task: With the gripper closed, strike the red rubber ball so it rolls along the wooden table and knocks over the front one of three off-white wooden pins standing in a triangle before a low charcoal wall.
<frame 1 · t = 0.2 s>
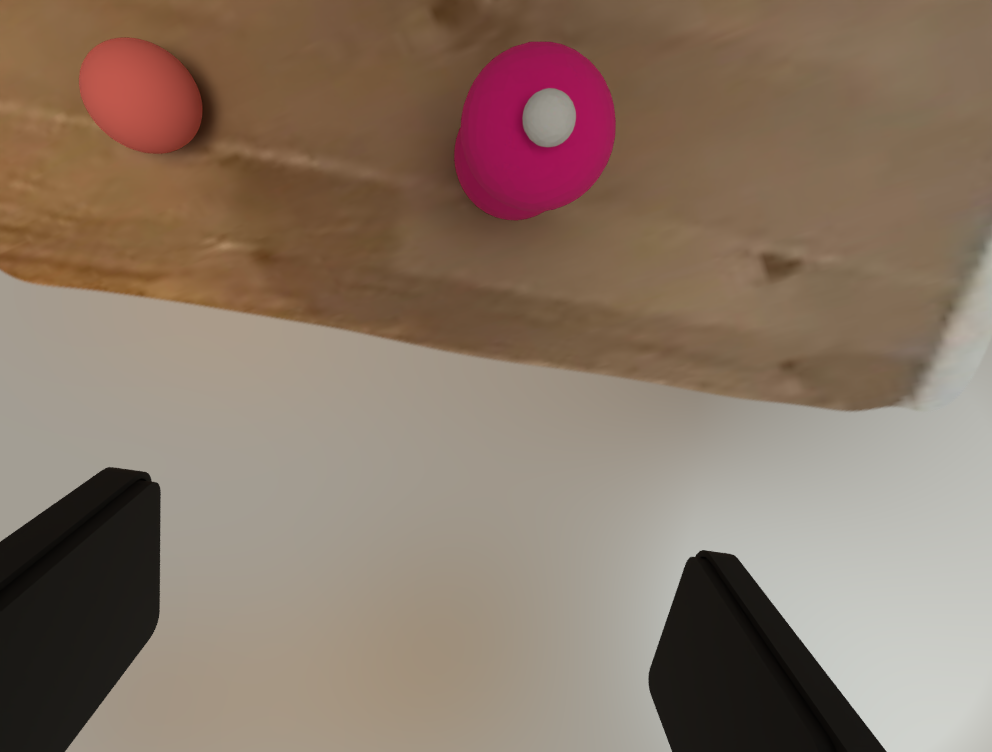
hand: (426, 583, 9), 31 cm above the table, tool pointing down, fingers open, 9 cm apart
pepper mill: (509, 163, 36), on the table
ball: (144, 98, 31), on the table
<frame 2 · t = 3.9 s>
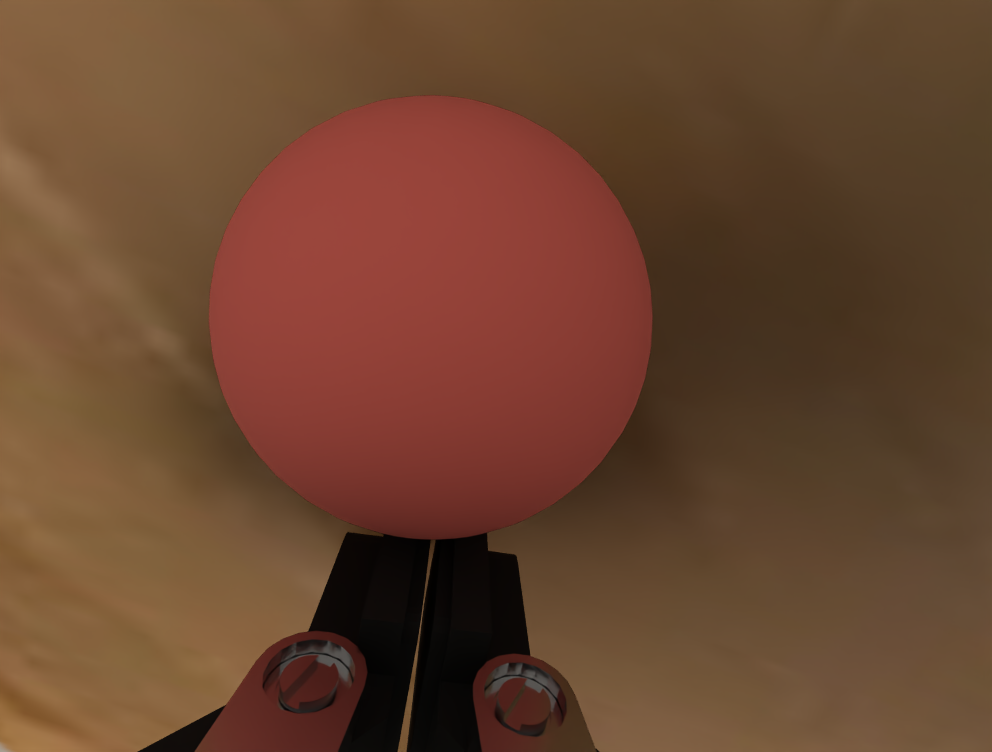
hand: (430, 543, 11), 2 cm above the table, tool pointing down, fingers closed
ball: (440, 326, 8), on the table
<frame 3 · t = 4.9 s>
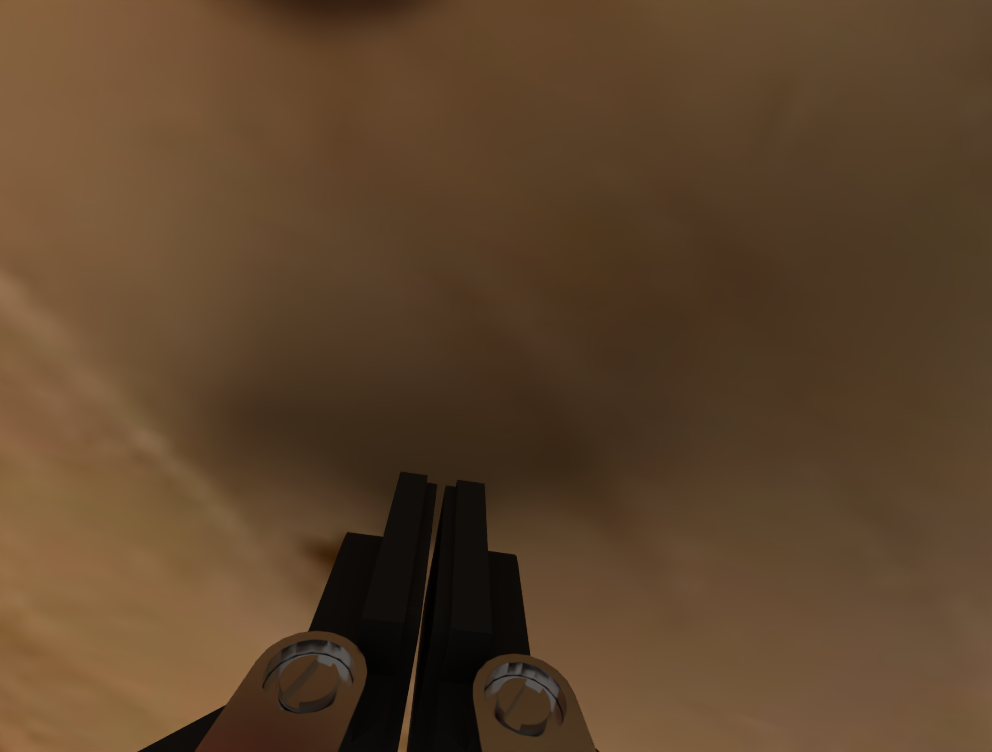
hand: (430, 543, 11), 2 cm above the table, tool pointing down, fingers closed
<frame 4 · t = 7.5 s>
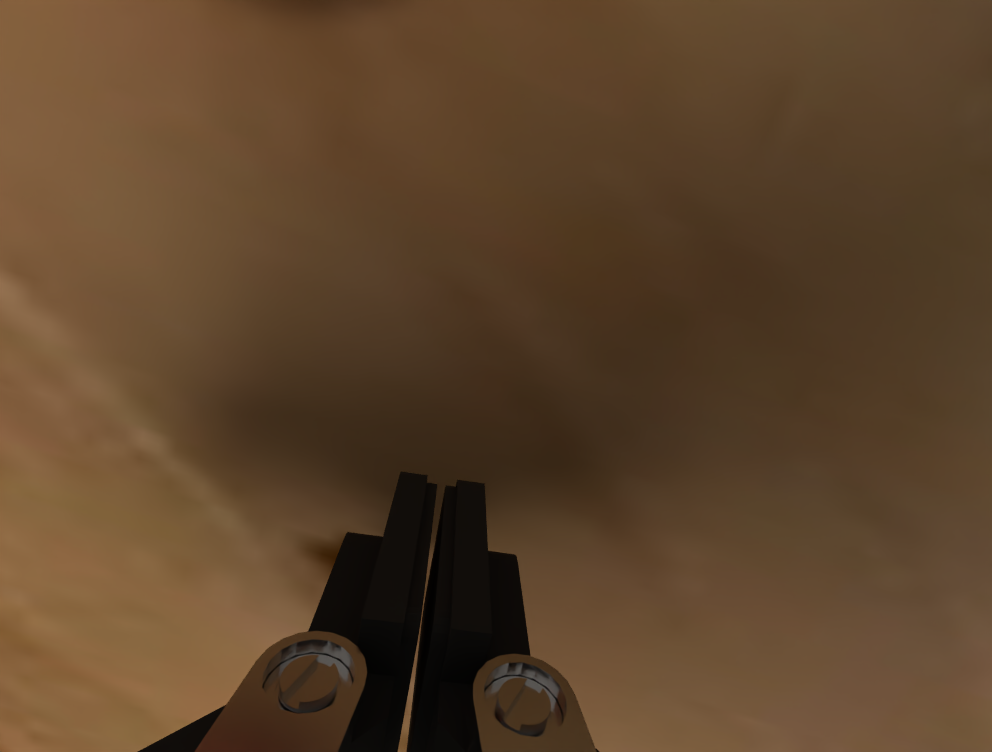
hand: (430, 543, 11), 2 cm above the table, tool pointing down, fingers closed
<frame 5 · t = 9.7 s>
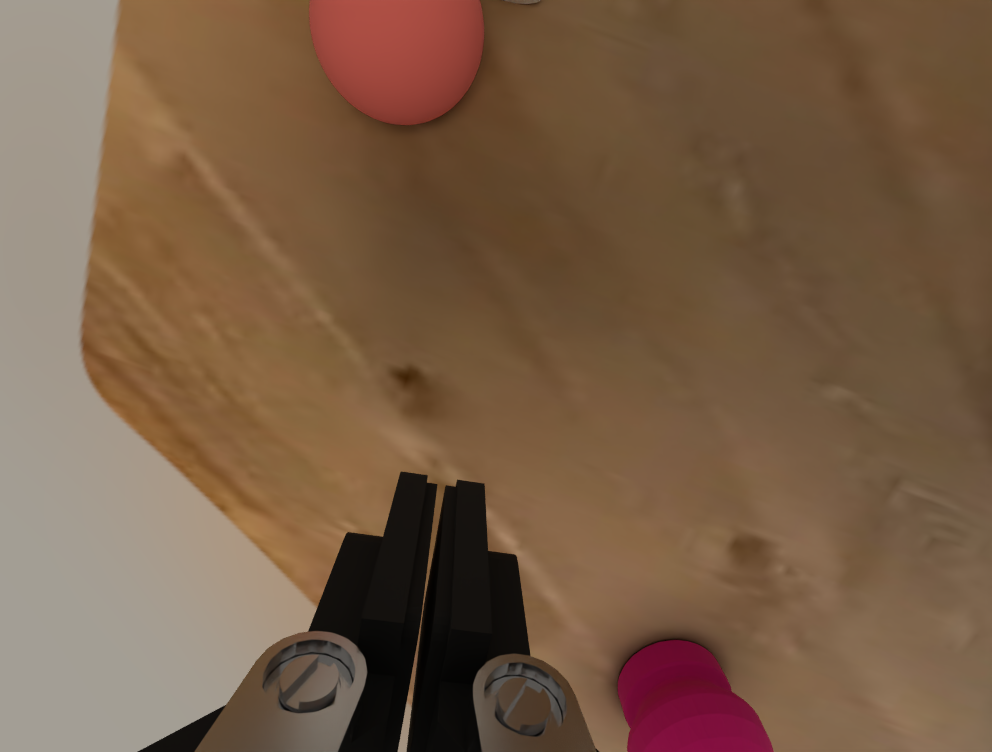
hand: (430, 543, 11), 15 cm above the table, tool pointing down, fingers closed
pepper mill: (666, 677, 32), on the table
ball: (399, 31, 19), on the table
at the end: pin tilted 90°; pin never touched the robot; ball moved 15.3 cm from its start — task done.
